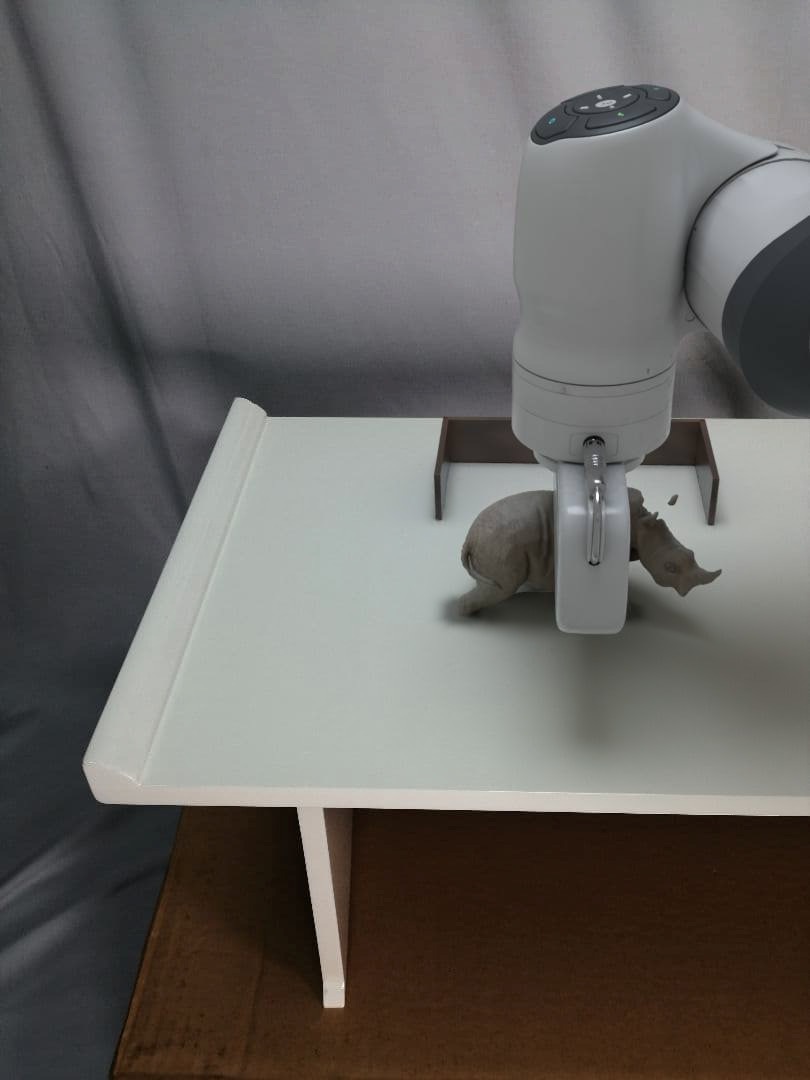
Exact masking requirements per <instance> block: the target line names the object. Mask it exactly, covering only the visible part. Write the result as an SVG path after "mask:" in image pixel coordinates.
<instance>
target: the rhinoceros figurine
mask: <svg viewBox="0 0 810 1080" xmlns="http://www.w3.org/2000/svg"><path fill="white" fill-rule="evenodd" d="M627 491H628V499H629V508H630V554H629V563H633V562H638V561H639V562H640V564H641V566H642V567H643V568H644V569H645V570H646V571H647V572H648V574H650V576H651V578H652V579H653V581H654V583H655V584H657V585H658V586H659V587H662V588H672V589H674V591H676V592H677V594H678V595H679V596H680V597H681V598H684V597H687V595H688V594H689V592H690V591H691V590H692V589H694V588H696V587H698V586H705V585H709V584H711V583H713V582H714V581H715V580H716V579H717V578H719V577H720V576H721V575H722V574H723V573H722V572H723V569H722V568H719V569H717V570H715V571H708V570H706V569H704V568H702V567H700V566H699V564H698V562H697V561H696V560H697V559H696V558H695V557H696V556H695V552H694V551H693V550H692V549H690V548H687V547H686V546H685V545H684V544H683V543H681V541H679V540H678V539H677V538H676V537H675V535H674V534H673V533H672V531H670V529H669V526H667V522H666V521H665V520H664V518H658V517H659V514H660V513H659V512H660V511H655V512H653V513H652V512H651V511H648V509H647V508H646V507H645V506H644V503H645V498H644V496H643V493H642V491H641V490H639V489H638V488H634V487H630V486H629V487H628V486H627ZM678 498H679V494H677V493H676V494H673V495H672V496H671V498H670V500H669V501H668V502H667V505H669V506H671V507H673V506H675V505H676V503H677V501H678ZM460 553H461V554H460V561H461V565H462V567H463V568H464V569H465V571H466V572H467V574H468V575H469V577H470V578H472V579H473V580H474V581H475V585H476V586H475V587H474V588H472V589H471V590H469V591H468V592H466V593H464V594H462V595H461V596H460V597H459V600H458V603H457V609H456V612H457V614H458V615H460V616H463V617H470V616H473V614H475V613H476V611H478V610H480V609H484V608H486V607H489V606H494V605H497V604H499V603H501V602H504V601H506V600H507V599H509V598H510V597H512V596H514V595H516V594H519V593H524V592H525V593H526V592H531V593H533V592H535V593H551V592H552V593H553V592H554V593H555V555H554V493H553V490H552V489H551V490H550V489H549V490H548V489H538V490H527V491H522V492H518V493H515V494H511V495H509V496H505V497H503V498H500V499H499V500H496V501H495V502H493V503H491V504H490V505H488V506H487V507H485V508H484V509H482V510H481V511H480V512H479V513H478V514H477V516H476V517H475V519H473V521H472V524H471V525H470V527H469V529H468V532H467V534H466V537H465V540H464V542H463V544H462V549H461V550H460ZM631 612H632V607H631V604H630V601H629V599H628V598H627V609H626V615H628V614H630V613H631Z"/></svg>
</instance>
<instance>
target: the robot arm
mask: <svg viewBox="0 0 810 1080" xmlns="http://www.w3.org/2000/svg"><path fill="white" fill-rule="evenodd" d="M524 146H525V147H524V149H523V154H522V158H521V163H520V167H519V173H518V180H517V181H518V182H517V190H516V198H515V208H514V210H515V211H514V222H513V223H514V224H513V225H514V226H513V249H512V251H513V252H512V254H513V255H512V276H513V282H514V285H515V289H516V292H517V296H518V302H519V316H518V317H519V318H518V322H517V326H516V329H515V331H514V336H513V339H512V345H511V346H512V347H511V349H512V350H511V358H512V359H511V417H512V429H513V432H514V434H515V436H516V437H517V438H518V440H519V441H520V442H521V443H523V444H524V445H525V446H527V447H528V448H530V449H531V450H533V453H534V456H535V458H536V460H537V461H538V462H539V463H538V464H540V465H541V466H542V467H544V468H545V469H547V470H549V471H550V472H552V479H553V483H552V484H553V485H552V486H553V488H552V489H553V490H552V491H553V493H554V555H555V592H554V601H555V602H554V605H555V606H554V609H555V611H554V613H555V623H556V626H557V628H558V630H560V631H561V632H563V633H566V634H578V635H579V634H580V635H581V634H582V635H616V634H618V633H619V632H621V631H622V629H623V627H624V626H625V622H626V619H627V618H626V617H627V614H626V609H627V599H628V591H629V589H628V588H629V573H630V562H629V554H630V508H629V499H628V491H627V487H628V483H627V475H626V474H628V473H630V472H632V471H633V470H636V469H637V468H638V467H639V466H640V465H642V464H641V463H642V462H643V460H644V457H645V455H646V454H648V453H650V452H652V451H653V450H655V449H657V448H658V447H659V446H661V445H662V444H663V443H664V441H665V440H666V439H667V437H668V435H669V432H670V426H671V419H672V413H673V402H674V401H673V400H674V393H675V392H674V391H675V382H676V372H677V371H676V370H677V359H678V349H679V345H680V344H681V342H682V340H683V339H684V338H685V337H687V336H688V335H691V334H695V333H709V332H711V334H712V335H713V336H714V337H715V338H716V339H717V340H718V341H719V342H720V343H721V344H722V346H724V348H725V349H726V351H727V353H728V355H729V356H730V358H731V360H732V361H733V362H734V365H735V366H736V367H737V369H738V370H739V372H740V373H741V375H742V376H743V378H744V379H745V381H746V382H747V384H748V386H749V387H750V389H751V390H752V391H753V393H754V394H755V395H756V396H757V397H758V398H759V399H760V400H761V401H763V402H764V403H765V404H766V405H768V406H769V407H771V408H773V409H775V410H777V411H779V412H781V413H783V414H787V415H789V416H794V417H798V418H802V419H803V418H805V419H810V154H809V153H807V152H805V151H803V150H802V149H800V148H798V147H795V146H793V145H791V144H789V143H785V142H780V141H775V140H772V139H769V138H768V139H767V138H763V137H759V136H754V135H751V134H747V133H744V132H741V131H739V130H736V129H733V128H731V127H729V126H726V125H724V124H723V123H721V122H719V121H718V120H716V119H713V118H711V117H709V116H708V115H706V114H705V113H703V112H702V111H700V110H698V109H697V108H696V107H694V106H692V105H691V104H689V103H688V102H687V101H686V100H685V99H684V98H683V97H682V96H681V95H680V93H678V92H677V91H676V90H674V89H671V88H670V87H665V86H659V85H654V84H646V83H641V84H634V85H633V84H632V85H625V84H621V85H612V86H606V87H601V88H596V89H592V90H589V91H586V92H583V93H580V94H577V95H575V96H572V97H570V98H568V99H566V100H563V101H561V102H560V103H559V104H557V105H556V106H554V107H553V108H551V109H550V110H548V111H547V112H546V113H545V114H544V115H542V116H541V117H540V118H539V119H538V121H536V123H535V124H534V125H533V127H532V129H531V131H530V133H529V135H528V137H527V141H526V143H525V145H524Z"/></svg>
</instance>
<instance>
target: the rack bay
mask: <svg viewBox="0 0 810 1080" xmlns="http://www.w3.org/2000/svg"><path fill="white" fill-rule="evenodd" d="M435 459H436V460H435V464H434V467H435V468H434V472H433V486H434V487H433V489H434V491H433V492H434V515H435V516H434V517H435V520H443V513H444V507H445V498H446V492H447V486H448V485H447V484H448V477H449V470H450V463H506V464H507V463H511V464H512V463H513V464H514V463H516V464H517V463H518V464H520V463H521V464H522V463H523V464H540V463H539V462H538V461H537V460H536V458H535V456H534V453H533V450H531V449H530V448H528V447H527V446H525V445H524V444H523V443H521V442H520V441H519V440H518V438H517V437H516V436H515V434H514V432H513V429H512V416H443V417H442V421H441V427H440V435H439V441H438V446H437V452H436V458H435ZM640 465H659V466H660V465H662V466H663V465H669V466H670V465H671V466H673V465H674V466H677V465H678V466H694V467H695V472H696V476H697V481H698V486H699V490H700V495H701V499H702V505H703V510H704V514H705V519H706V524H707V525H715V521H716V512H717V504H718V497H719V487H720V475H719V470H718V467H717V462H716V459H715V454H714V450H713V446H712V442H711V438H710V434H709V429H708V424H707V421H706V418H671V426H670V432H669V435H668V437H667V439H666V440H665V441H664V443H663V444H662V445H661V446H659V447H658V448H657V449H655V450H653V451H652V452H650V453H648V454H646V455H645V457H644V460H643V462H642V463H641V464H640Z"/></svg>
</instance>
